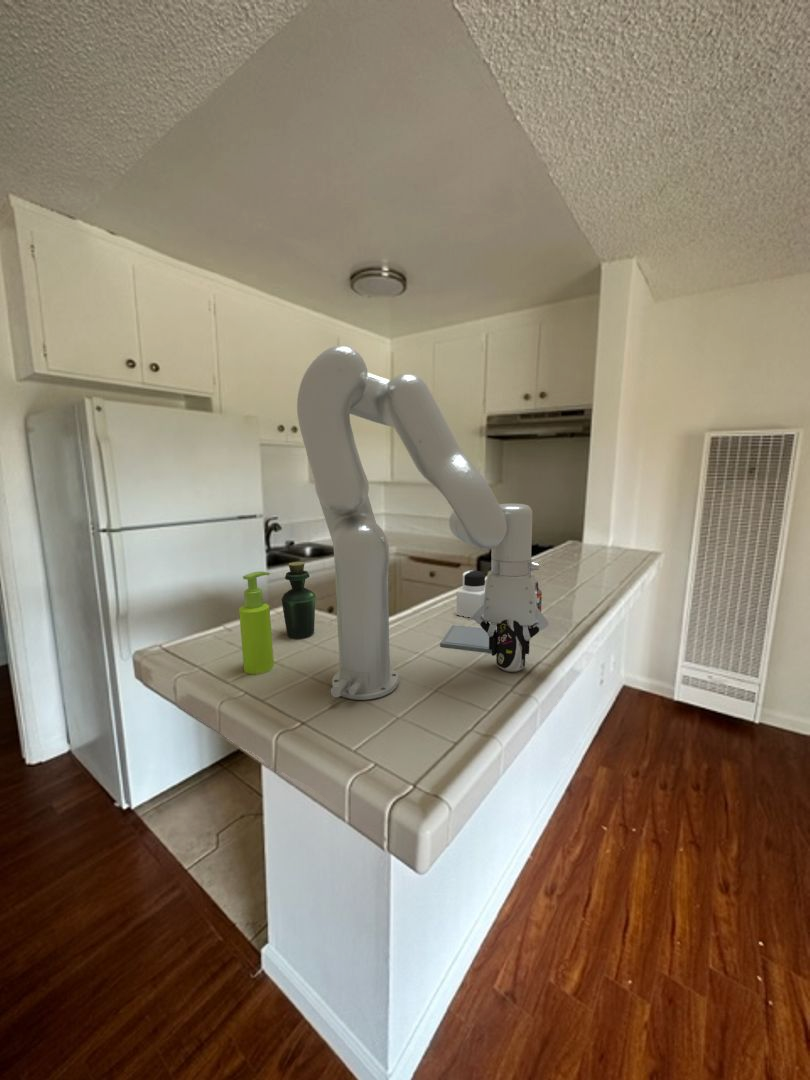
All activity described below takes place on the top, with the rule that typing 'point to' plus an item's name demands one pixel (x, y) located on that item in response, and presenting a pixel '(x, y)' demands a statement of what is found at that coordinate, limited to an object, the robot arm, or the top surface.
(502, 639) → the beverage can
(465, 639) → the plate
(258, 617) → the soap dispenser
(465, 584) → the medicine bottle
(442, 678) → the top surface
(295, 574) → the potion bottle
